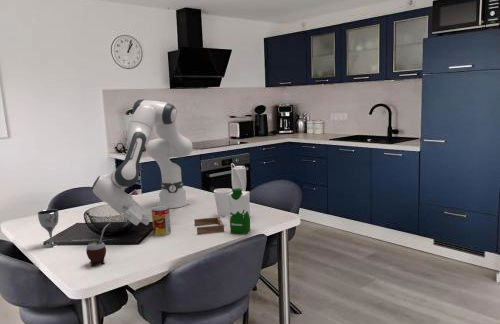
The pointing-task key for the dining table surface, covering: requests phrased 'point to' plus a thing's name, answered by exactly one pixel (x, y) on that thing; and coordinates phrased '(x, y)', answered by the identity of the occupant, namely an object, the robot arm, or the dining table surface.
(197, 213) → the dining table surface
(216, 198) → the foam cup
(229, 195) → the milk carton
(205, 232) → the wooden tray
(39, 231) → the dining table surface
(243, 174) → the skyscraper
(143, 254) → the dining table surface
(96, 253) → the mate gourd
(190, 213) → the dining table surface
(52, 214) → the wine glass
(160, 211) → the canned food
